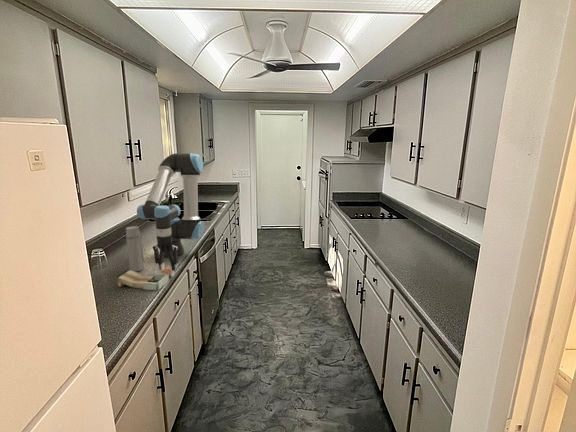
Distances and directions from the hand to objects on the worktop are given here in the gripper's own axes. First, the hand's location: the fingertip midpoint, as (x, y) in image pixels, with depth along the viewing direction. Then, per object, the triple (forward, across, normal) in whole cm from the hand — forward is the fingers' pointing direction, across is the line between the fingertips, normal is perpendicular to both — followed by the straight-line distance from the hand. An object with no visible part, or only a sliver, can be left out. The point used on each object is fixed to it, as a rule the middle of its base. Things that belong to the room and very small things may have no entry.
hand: (167, 275), depth 177 cm
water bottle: (+1, -21, +6) cm, 22 cm away
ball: (0, 0, 0) cm, 1 cm away
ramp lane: (0, -12, -10) cm, 16 cm away
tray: (0, -1, -10) cm, 11 cm away
